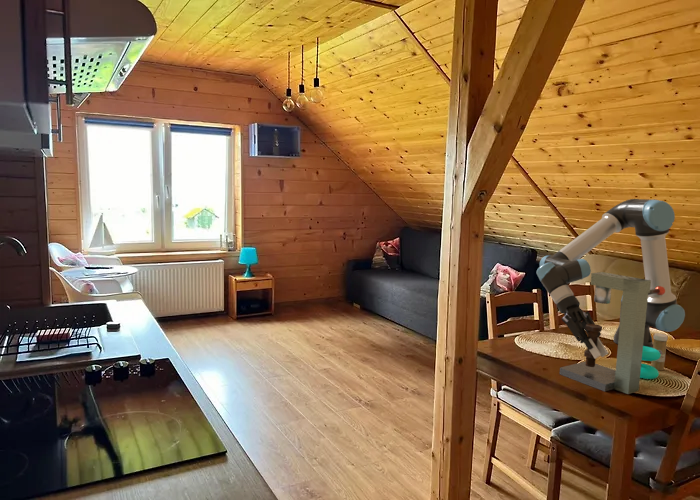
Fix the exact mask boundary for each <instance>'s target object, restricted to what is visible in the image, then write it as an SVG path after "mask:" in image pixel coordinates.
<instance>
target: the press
mask: <svg viewBox="0 0 700 500" xmlns="http://www.w3.org/2000/svg"><path fill="white" fill-rule="evenodd" d="M590 285H591V286H595V291H594V303H597V304H603V305H604V304H606V305H607V304H610V303H611V297H612V289H613V290H616V291H621V292H622V295H623V296H621V300H622V307H621V306H620V311H621V318H620V317H619V323H620V329H619V340H618V344H617V352H616V353H617V354H616V362H615V369H613V368H610V367H608V366H607V367H606V366H604V365H600V364H598V363H595V366H594V367H588V366H586V365H585V363H586V360H585V361H581V362H577V363H574V364H570V365H565V366H562V367H559V375H561V376H563V377H565V378H568V379H570V380H573V381H576V382H579V383H581V384H583V385H586V386H590V387H592V388H594V389H597V390H600V391H602V392H608V391H611V390H616V391H618V392H621V393H623V394H627V395H630V394H633V393H637V392H639V389H640V381H641V378H640V372H641V363H642V361H643V360H642V351H643V341H644V331H645V321H646V311H647V300H648V295H651V294H657V295H663V294H664V293H665V288H664V287H662V286H657V287H656V288H655V289H652V290H650V286H651V280H645V278H639V277H633V276H628V275H621V274H616V273H610V272H604V271H598V272H592V273H590ZM636 391H637V392H636Z"/></svg>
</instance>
